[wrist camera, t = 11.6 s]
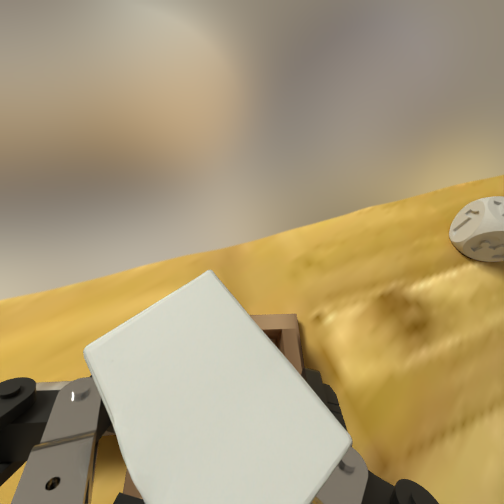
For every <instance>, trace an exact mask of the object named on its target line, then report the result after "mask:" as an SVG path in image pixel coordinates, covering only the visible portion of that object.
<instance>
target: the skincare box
mask: <svg viewBox="0 0 504 504" xmlns="http://www.w3.org/2000/svg"><path fill="white" fill-rule="evenodd" d="M83 353H84V358H85V361H86V363H87V365H88V368H89V370H90V372H91V375H92V377H93V379H94V382H95V384H96V386H97V389H98V391H99V393H100V396H101V398H102V401H103V403H104V405H105V408H106V410H107V412H108V415H109V417H110V419H111V422H112V424H113V427H114V430H115V433H116V436H117V440H118V444H119V447H120V450H121V453H122V456H123V459H124V461H125V464H126V466H127V469H128V471H129V474H130V476H131V478H132V481H133V483H134V484H135V486H136V488H137V489H138V491H139V492H140V494H141V496H142V498H143V500H144V502H145V504H311V502H312V501H313V500H314V498H315V497H316V495H317V494H318V492H319V491H320V489H321V488H322V487H323V485H324V484H325V482H326V481H327V479H328V478H329V477H330V475H331V474H332V472H333V471H334V470H335V468H336V467H337V465H338V464H339V462H340V461H341V460H342V458H343V457H344V455H345V454H346V453H347V451H348V450H349V448H350V447H351V445H352V438H351V436H350V435H349V433H348V432H347V431H346V430H345V429H344V427H343V426H342V425H341V424H340V423H339V421H338V420H337V419H336V418H335V416H334V415H333V414H332V413H331V412H330V410H329V409H328V408H327V407H326V405H325V404H324V403H323V402H322V401H321V399H320V398H319V397H318V396H317V394H316V393H315V392H314V391H313V389H312V388H311V387H310V386H309V385H308V383H307V382H306V381H305V380H304V379H303V377H302V376H301V375H300V374H299V372H298V371H297V370H296V369H295V368H294V366H293V365H292V364H291V363H290V362H289V361H288V359H287V358H286V357H285V356H284V355H283V354H282V353H281V351H280V350H279V349H278V348H277V347H276V346H275V344H274V343H273V342H272V341H271V340H270V339H269V338H268V336H267V335H266V334H265V333H264V332H263V331H262V330H261V328H260V327H259V326H258V325H257V324H256V323H255V321H254V320H253V319H252V318H251V317H250V315H249V314H248V313H247V312H246V311H245V310H244V308H243V307H242V306H241V305H240V304H239V302H238V301H237V300H236V299H235V297H234V296H233V295H232V294H231V293H230V292H229V290H228V289H227V288H226V287H225V286H224V285H223V283H222V282H221V281H220V280H219V279H218V277H217V276H216V275H215V273H214V272H213V271H212V270H208V271H206V272H205V273H203V274H202V275H200V276H199V277H197V278H196V279H194V280H192V281H191V282H189V283H187V284H186V285H184V286H183V287H181V288H179V289H178V290H176V291H174V292H173V293H171V294H170V295H168V296H166V297H165V298H163V299H161V300H160V301H158V302H157V303H155V304H153V305H152V306H150V307H149V308H147V309H145V310H144V311H142V312H140V313H139V314H137V315H136V316H134V317H132V318H131V319H129V320H128V321H126V322H124V323H123V324H121V325H120V326H118V327H116V328H115V329H113V330H111V331H110V332H108V333H107V334H105V335H103V336H102V337H100V338H98V339H97V340H95V341H94V342H92V343H90V344H89V345H87V346H86V347H85V348H84V351H83Z"/></svg>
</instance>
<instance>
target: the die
mask: <svg viewBox="0 0 504 504" xmlns="http://www.w3.org/2000/svg"><path fill="white" fill-rule="evenodd" d="M449 237H450V240H451V242H452V244H453V245H454V246H455V247H456V249H457V250H459V251H460V252H461V253H463V254H464V255H466V256H468V257H470V258H472V259H475V260H479V261H486V262H498V261H504V197H487V198H482V199H479V200H476V201H473V202H471V203H469V204H468V205H466V206H465V207H464V208H463V209H462V210H461V211H460V212H459V213H458V214H457V215H456V217H455V218H454V220H453V222H452V224H451V227H450V231H449Z"/></svg>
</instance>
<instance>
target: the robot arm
mask: <svg viewBox="0 0 504 504" xmlns="http://www.w3.org/2000/svg"><path fill="white" fill-rule="evenodd" d="M301 376H302V377H303V379H304V380H305V381H306V382H307V383H308V385H309V386H310V387H311V388H312V389H313V391H314V392H315V393H316V394H317V396H318V397H319V398H320V399H321V401H322V402H323V403H324V404H325V405H326V407H327V408H328V409H329V410H330V412H331V413H332V414H333V415H334V416H335V418H336V419H337V420H338V421H339V423H340V424H341V425H342V426H343V427H344V429H345V430H346V431H347V429H346V425H345V422H344V419H343V416H342V412H341V409H340V407H339V403H338V399H337V396H336V394H335V392H334V391H333V390H332V388H331V387H330V386H329V385H327V384H323V383H322V379H321V375H320V372H319V371H317V370H313V369H309V368H303V370H302V373H301ZM105 431H108V432H111V433H115V430H114V427H113V424H112V422H111V419H110V417H109V415H108V412H107V410H106V408H105V405H104V403H103V401H102V398H101V396H100V393H99V391H98V389H97V386H96V384H95V382H94V379H93V377H92V375H91V376H90V377H86V378H80V379H77V380H74V381H72V382H70V383H68V384H67V385H65V386H64V387H63V388H62V389H61V390H36V382H35V381H34V380H33V379H31V378H25V377H22V378H14V379H10V380H6V381H3V382H1V383H0V486H1V485H2V484H3V483H4V482H5V481H6V480H7V479H9V478H10V477H11V476H12V475H13V474H14V473H15V472H16V471H17V470H18V469H19V468H20V467H21V466H22V465H23V464H24V463H25V462H26V461H27V463H26V466H25V468H24V471H23V473H22V476H21V479H20V481H19V484H18V486H17V489H16V492H15V494H14V497H13V500H12V502H11V504H91V497H92V490H93V482H94V475H95V468H96V461H97V454H98V446H99V439H100V438H101V437H102V435H103V434H104V433H105ZM113 504H145V502H144V500H143V499H140V498H137V497H133V496H130V495H126V494H123V493H120V492H119V494H118V496H117V498H116V500H115V501H114V503H113ZM311 504H439V503H438V502H437V501H436V499H435V498H434V497H433V496H432V495H431V494H430V493H429V492H428V491H427V490H426V489H424V488H423V487H422V486H420V485H419V484H417V483H415V482H413V481H411V480H408V479H401V480H399V481H398V482H397V483H396V485H395V486H393V485H391V484H389V483H388V482H386V481H384V480H383V479H381V478H379V477H377V476H376V475H374V474H373V473H371V472H370V471H369V470H368V469H367V466H366V464H365V462H364V460H363V458H362V457H361V456H360V454H359V453H358V452H357V451H356V450H355V449H353V448H352V445H351V447H350V448H349V450H348V451H347V453H346V454H345V455H344V457H343V458H342V460H341V461H340V462H339V464H338V465H337V467H336V468H335V470H334V471H333V472H332V474H331V475H330V477H329V478H328V479H327V481H326V482H325V484H324V485H323V487H322V488H321V489H320V491H319V492H318V494H317V495H316V497H315V498H314V500H313V501H312V502H311Z"/></svg>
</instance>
